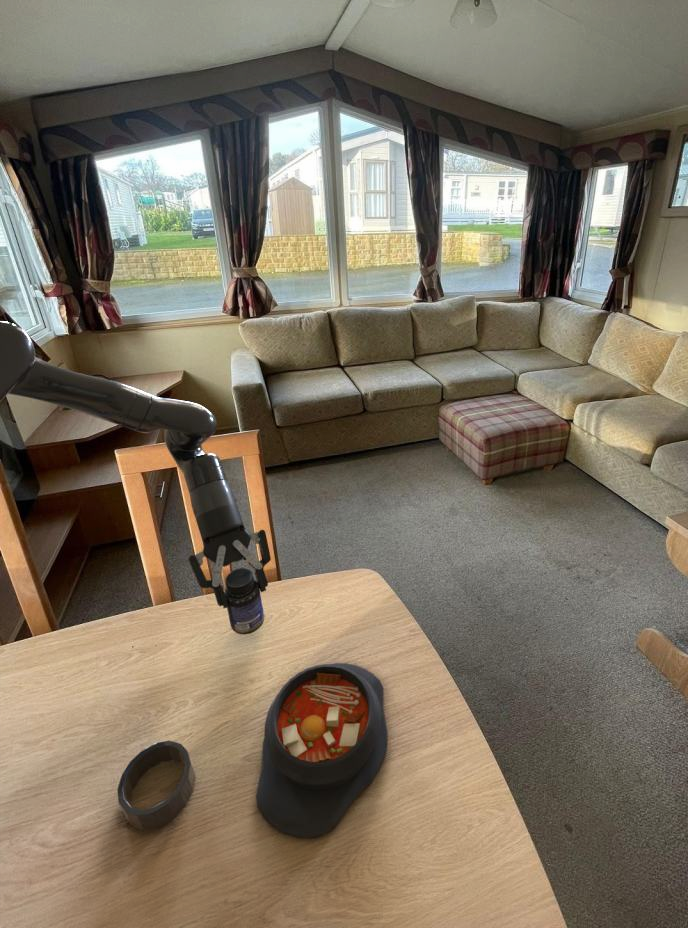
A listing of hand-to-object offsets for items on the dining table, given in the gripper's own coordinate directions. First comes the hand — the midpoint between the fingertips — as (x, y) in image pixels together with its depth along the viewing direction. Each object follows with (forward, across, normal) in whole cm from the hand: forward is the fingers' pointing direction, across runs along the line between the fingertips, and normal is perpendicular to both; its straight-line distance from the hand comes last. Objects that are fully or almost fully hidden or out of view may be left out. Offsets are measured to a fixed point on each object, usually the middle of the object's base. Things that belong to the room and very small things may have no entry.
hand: (244, 599), depth 85 cm
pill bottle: (+4, 0, -6) cm, 8 cm away
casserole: (+25, -4, +9) cm, 26 cm away
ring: (+20, +19, +4) cm, 28 cm away
